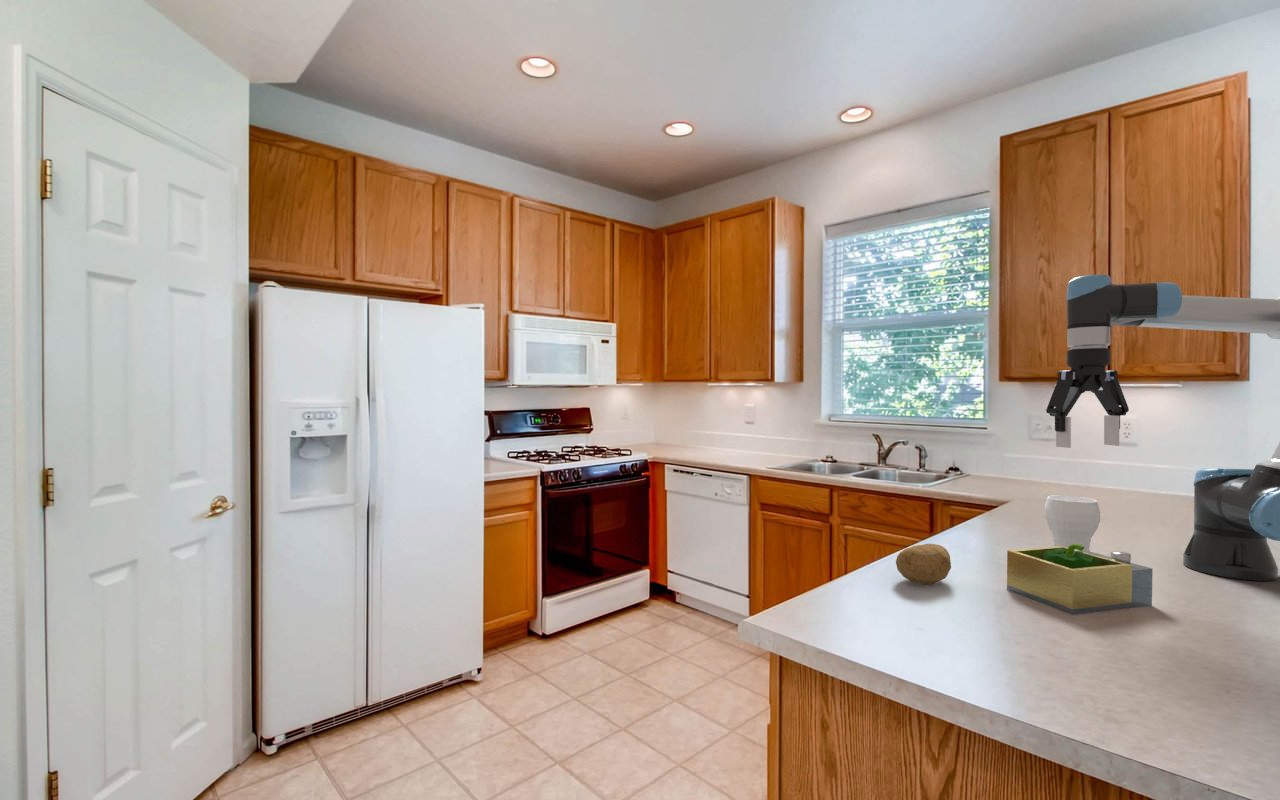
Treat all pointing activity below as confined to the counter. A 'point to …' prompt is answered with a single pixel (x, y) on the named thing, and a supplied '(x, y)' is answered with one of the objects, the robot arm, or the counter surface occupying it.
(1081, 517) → the cup
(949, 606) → the counter surface
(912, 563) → the potato
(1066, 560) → the bell pepper
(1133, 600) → the gold open box
